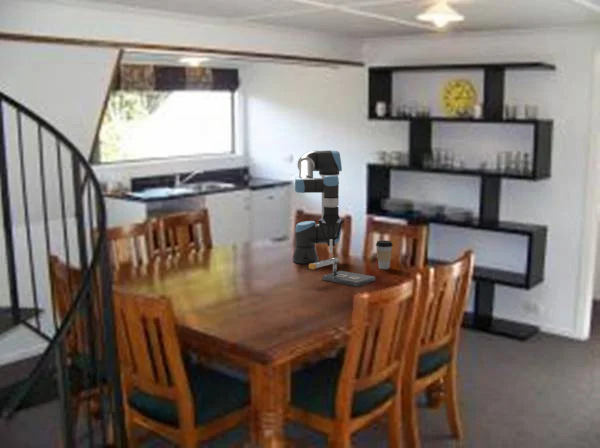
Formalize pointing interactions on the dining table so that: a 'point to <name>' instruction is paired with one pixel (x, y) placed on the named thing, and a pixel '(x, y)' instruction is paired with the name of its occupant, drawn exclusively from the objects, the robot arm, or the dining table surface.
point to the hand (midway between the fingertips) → (331, 252)
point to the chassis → (348, 277)
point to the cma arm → (323, 263)
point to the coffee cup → (384, 254)
